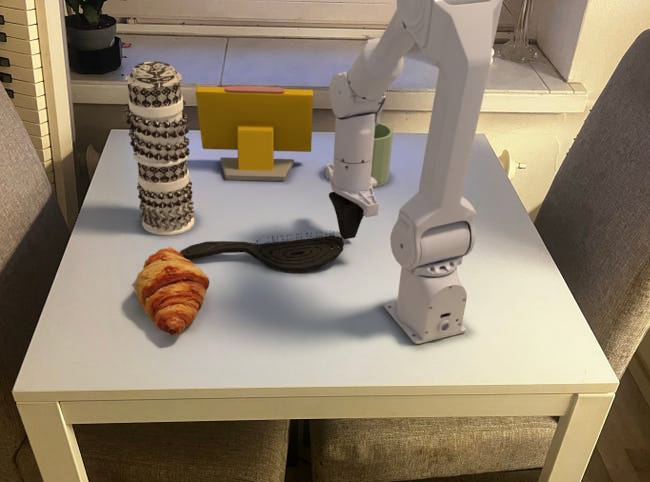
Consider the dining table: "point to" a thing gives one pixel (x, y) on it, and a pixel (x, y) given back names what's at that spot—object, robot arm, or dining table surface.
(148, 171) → the decorative candle
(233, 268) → the dining table surface
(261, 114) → the yellow framed monitor
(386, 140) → the coffee cup
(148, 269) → the croissant
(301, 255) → the hairbrush
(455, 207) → the robot arm
